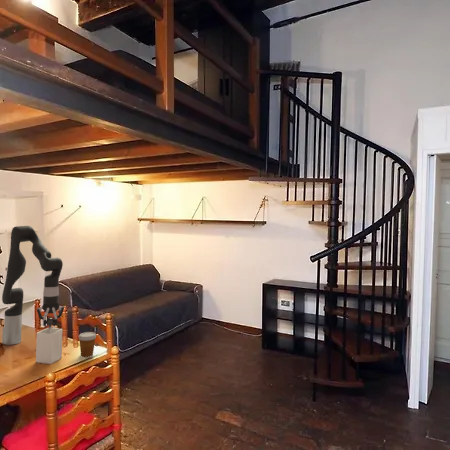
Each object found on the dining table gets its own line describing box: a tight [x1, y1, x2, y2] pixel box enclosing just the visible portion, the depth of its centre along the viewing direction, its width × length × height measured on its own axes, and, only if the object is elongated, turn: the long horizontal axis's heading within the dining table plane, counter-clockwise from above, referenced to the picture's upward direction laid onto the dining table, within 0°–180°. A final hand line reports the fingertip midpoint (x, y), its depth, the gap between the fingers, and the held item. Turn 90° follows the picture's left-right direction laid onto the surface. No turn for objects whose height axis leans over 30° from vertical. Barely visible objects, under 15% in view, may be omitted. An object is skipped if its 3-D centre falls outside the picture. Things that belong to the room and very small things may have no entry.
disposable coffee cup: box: [78, 331, 97, 358], centre depth 202 cm, size 10×10×12 cm
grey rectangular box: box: [35, 327, 63, 365], centre depth 195 cm, size 9×12×16 cm
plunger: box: [46, 317, 54, 334], centre depth 193 cm, size 7×7×17 cm
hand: (50, 325), depth 193 cm, fingers closed on plunger, 4 cm apart
